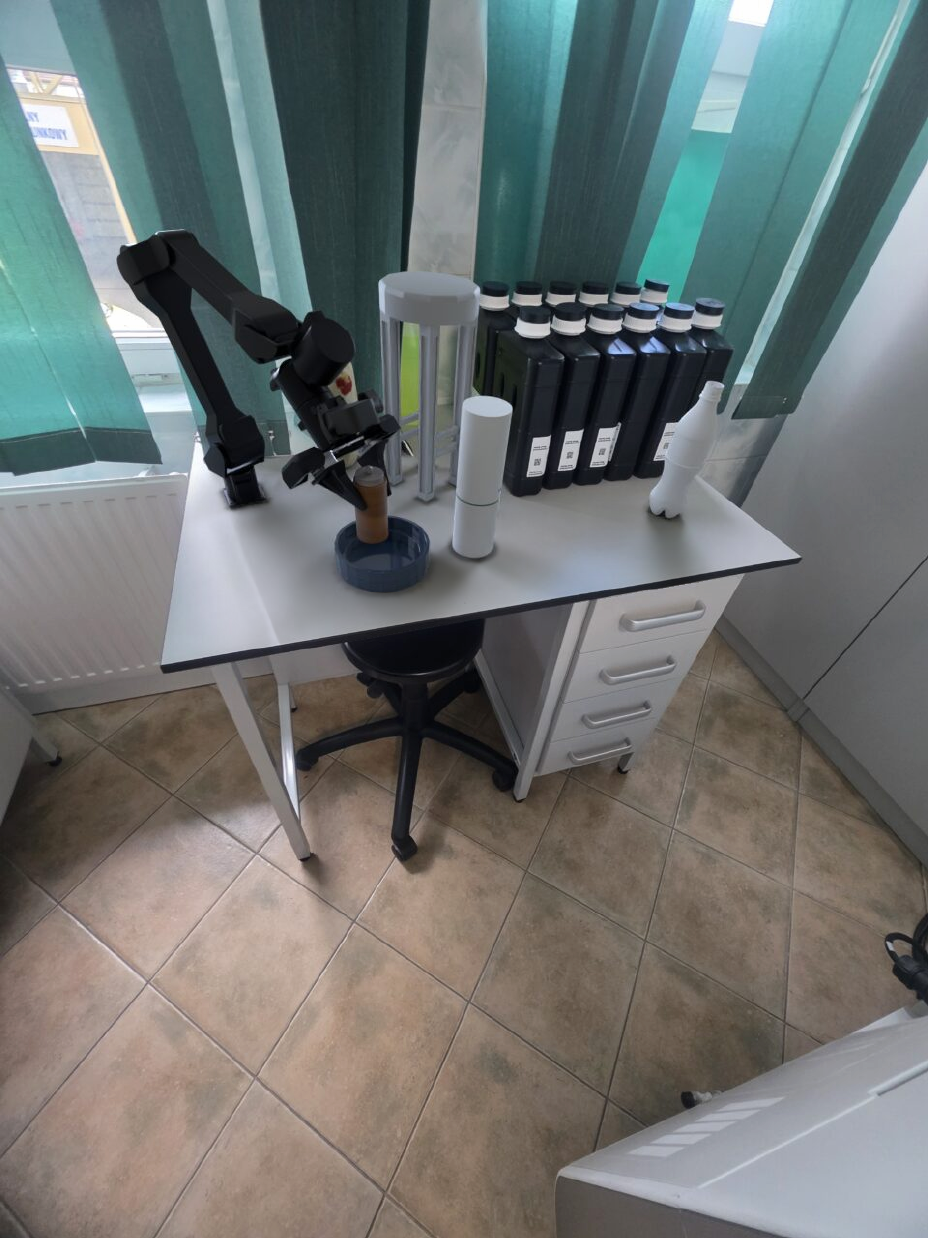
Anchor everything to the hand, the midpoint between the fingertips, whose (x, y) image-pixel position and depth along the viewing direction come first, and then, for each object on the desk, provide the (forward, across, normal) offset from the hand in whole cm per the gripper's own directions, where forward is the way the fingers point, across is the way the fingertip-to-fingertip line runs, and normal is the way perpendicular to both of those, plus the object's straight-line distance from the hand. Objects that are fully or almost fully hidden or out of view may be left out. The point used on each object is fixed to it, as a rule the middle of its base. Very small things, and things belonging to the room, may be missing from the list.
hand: (377, 502), depth 73 cm
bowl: (+8, +2, +10) cm, 14 cm away
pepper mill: (+4, 0, +5) cm, 6 cm away
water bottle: (+30, +52, -12) cm, 61 cm away
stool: (+1, +27, +19) cm, 33 cm away
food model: (-12, +22, +31) cm, 40 cm away
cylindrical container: (+15, +16, +4) cm, 22 cm away
